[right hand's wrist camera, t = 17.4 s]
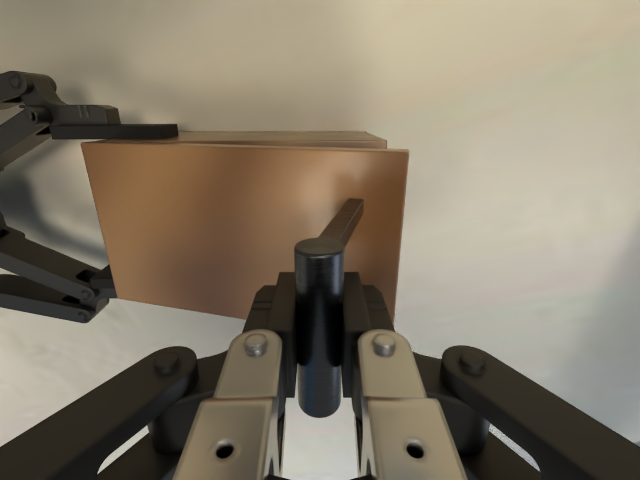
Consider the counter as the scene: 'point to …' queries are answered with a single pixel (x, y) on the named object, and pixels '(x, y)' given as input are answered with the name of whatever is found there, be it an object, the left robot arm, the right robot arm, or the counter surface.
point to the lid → (253, 233)
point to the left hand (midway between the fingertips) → (181, 208)
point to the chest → (274, 138)
